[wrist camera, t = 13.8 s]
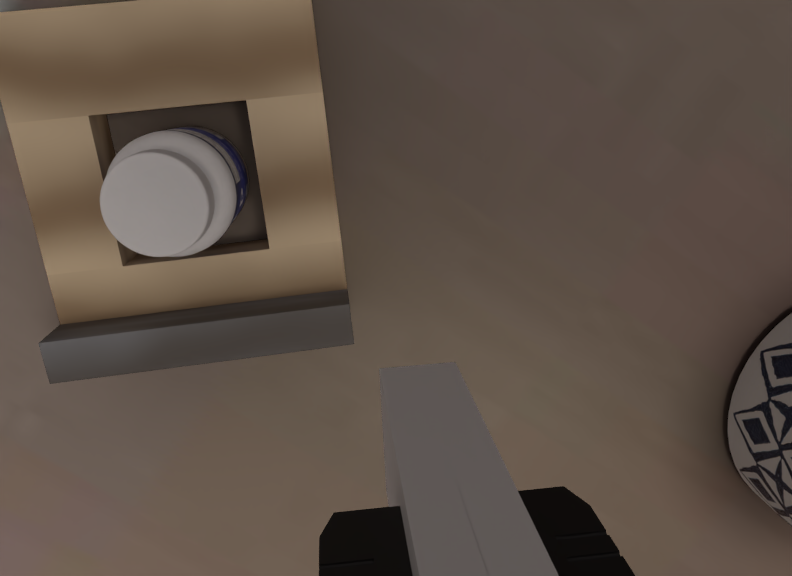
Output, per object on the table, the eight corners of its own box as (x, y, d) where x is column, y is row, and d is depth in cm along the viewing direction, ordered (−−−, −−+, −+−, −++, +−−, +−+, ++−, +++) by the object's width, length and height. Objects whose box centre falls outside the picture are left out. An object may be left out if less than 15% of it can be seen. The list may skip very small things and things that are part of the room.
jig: (5, 21, 29) (-56, 5, 25) (310, -6, 30) (308, -26, 26) (88, 344, 34) (49, 383, 29) (349, 310, 35) (354, 344, 30)
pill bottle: (200, 251, 33) (159, 302, 25) (120, 177, 32) (47, 205, 23) (272, 180, 33) (255, 208, 24) (194, 102, 31) (146, 102, 23)
